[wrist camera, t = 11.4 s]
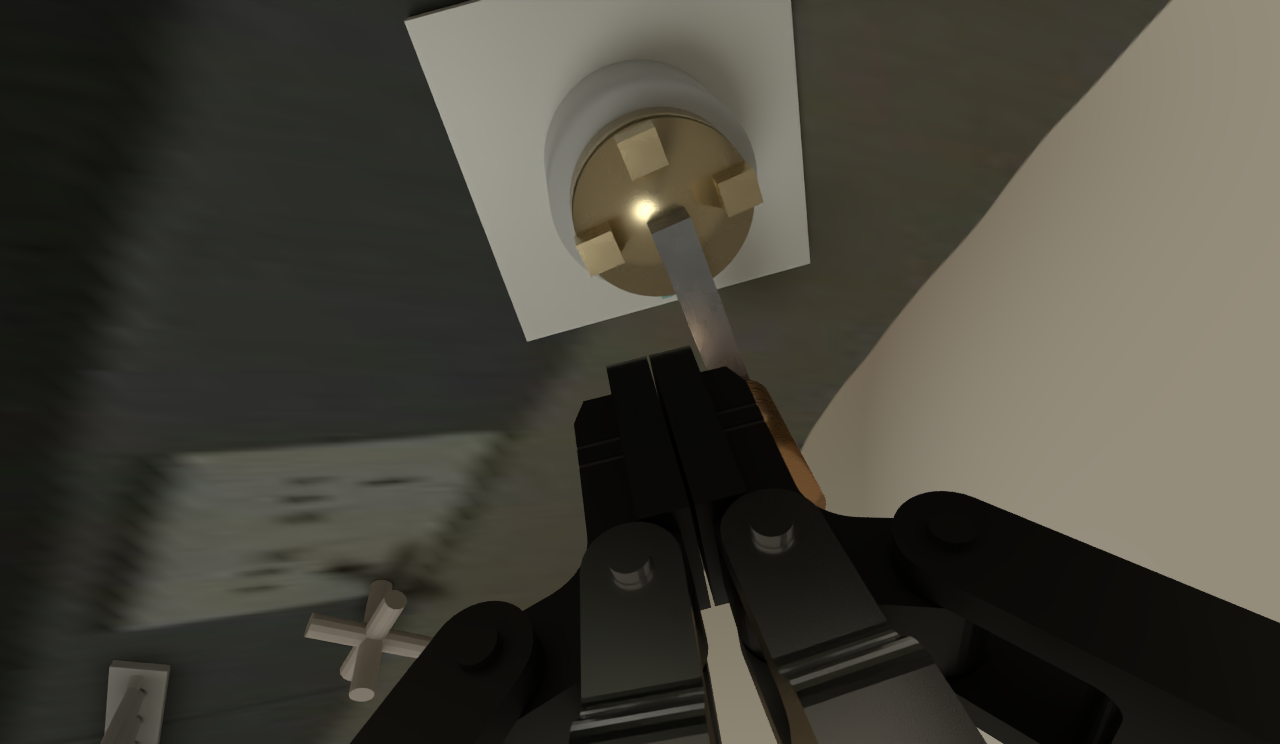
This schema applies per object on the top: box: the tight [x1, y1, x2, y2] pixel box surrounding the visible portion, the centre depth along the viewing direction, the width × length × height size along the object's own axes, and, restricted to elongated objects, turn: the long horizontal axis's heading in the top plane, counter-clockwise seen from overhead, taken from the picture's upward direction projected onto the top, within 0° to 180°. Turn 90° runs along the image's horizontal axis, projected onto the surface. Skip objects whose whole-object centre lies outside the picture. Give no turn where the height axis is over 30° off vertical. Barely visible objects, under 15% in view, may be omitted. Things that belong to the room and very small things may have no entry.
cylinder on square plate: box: [404, 0, 810, 341], centre depth 38 cm, size 20×20×8 cm
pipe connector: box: [304, 580, 433, 701], centre depth 55 cm, size 10×10×10 cm
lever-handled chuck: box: [569, 107, 826, 510], centre depth 32 cm, size 18×9×12 cm, turn 21°
